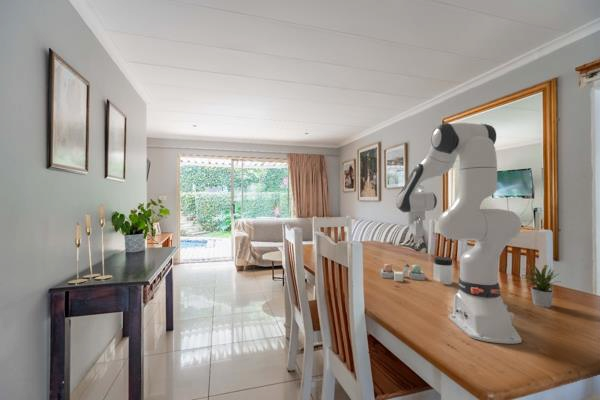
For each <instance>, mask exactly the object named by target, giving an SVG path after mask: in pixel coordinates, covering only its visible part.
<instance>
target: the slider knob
mask: <svg viewBox="0 0 600 400" xmlns="http://www.w3.org/2000/svg"><path fill="white" fill-rule="evenodd" d="M393 281H394V282H403V283H404V277H403V273H402V271H394V278H393Z"/></svg>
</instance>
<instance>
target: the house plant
mask: <svg viewBox="0 0 600 400" xmlns="http://www.w3.org/2000/svg"><path fill="white" fill-rule="evenodd" d="M525 265H526V266H527V267H529V268H530V269H531V271H530V270H528V269H526V267H525V268H524V267H523V270H525V271H526V272H528V273H529V274H530V275H529V274H526V273H525V275H524V274H521V276H522V277H524V278H525V280H524V281H523V283H525V282H526V285H527V284H530V283H532V284H533V285H534V286H530V291H531V297H532V302H533V304H534V305H535V306H537V307H542V308H551V306H552V303H553V298H554V293H555V290H554V289H551V288H555V286H552V285H553V284H555V283H560V281H554V282H551V281H552V280H553V278H555V277H556V276H558V275H559V274H560V273H561V272H560V273H557V274H555V273H554V272H555V269H552V267H550V268H549V269H548V267H549V265H547V264H545V265H544V266H543V268H542V269H541V272H540V270H539V269H538V268H537V266H536V265H535V266H534V268H533V267H532V266H531V265H529V264H526V263H525ZM519 268H520V269H521V268H522V267H519ZM547 269H548V272H547ZM546 272H547V275H546ZM534 276H535V277H534ZM526 279H527V280H526ZM529 279H530V280H529ZM550 282H551V283H550Z"/></svg>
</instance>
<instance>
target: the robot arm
mask: <svg viewBox="0 0 600 400" xmlns="http://www.w3.org/2000/svg"><path fill="white" fill-rule="evenodd" d="M430 140H431V142H430V143H431V146H430V148H429V150H428V153H427V154H426V157H425V158H424V159H423V160H422V161H421V162H420V163H419V164H416V165H415V166H414V168H413V170H412V171H411V173H410V175H409V177H408V178H407V181H406V182H405V184H404V185H403V187H402V189H401V191H400V192H399V193H398V194H397V197H396V199H395V205H396V207H397V209H399V210H400V211H401V212H402V213H406V220H407V222H408V230H409V232H410V233H411V234H412V236H413V237H412V238H413V243H414V244H419V240H420V238H423V237H424V223H423V221H425V220H426V212H429V211H433V210H434V209H436V206H437V205H438V204H437V203H438V199H437V195H436V194H435V193H433V192H432V191H429V190H426V188H425V186H424V185H421V183H422V182H424V181H427V180H429V179H432V178H435V177H439V176H443V175H445V174H447V173H448V172H449V171H450V170H451V169H452V168H453V166H454V165H455V162H456V160H457V157H459V166H458V167H459V168H458V169H459V171H458V172H459V178H458V191H457V195H456V197H455V199H454V200H453V203H452V204H451V205H450V207H448V208H447V209H446V210H445V211H443V212H442V213H441V214H440V216H439V218H438V221H437V228H438V230H439V232H440V234H441V235H442V236H443V237H444V238H445V239H448V240H454V241H461V242H463V241H468V242H469V241H472V242H473V241H475V244H474V245H473V247H472V248H471V249H468V250H467V251H465V252H463V253H462V255H461V256H460V258H459V277H458V281H457V282H458V284H457V285H458V291H457V292H456V293H455V294H454V297H453V311H452V312H453V313H450V314H449V315H448V319H449V320H450V321H451V322H452V323H454V324H455V325H456V326H457V327H458V328H459V329H460V330H461V331H463V332H464V333H465V334H466V335H467V336H469V337H470V338H471V339H475V340H479V341H483V342H489V343H496V344H507V345H508V344H520V343H522V337H521V336H520V334H519V332H518V331H517V330H516V328H515V327H514V325H513V324H512V321H514V320H515V314H514V313H513V312H510V311H508V305H507V304H505V302H504V300H503V298H502V297H501V295H502V294H501V287H500V283H499V281H498V278H499V276H498V274H499V261H500V258H501V255H502V253H503V250H504V249H505V247H507V245H508V244H509V243H510V242H511V241H513V240H514V239H515V238H517V237H518V236H519V235H520V233H521V230H522V221H521V218H520V216H519V215H518V214H516V212H514V211H512V210H507V209H500V208H481V206H482V203H483V202H484V200H485V199H487V198H489V197H491V196H493V195H494V194H495V193H496V191H497V190H498V160H497V152H496V148H495V143H496V141H497V131H496V129H495V128H494V126H492V125H490V124H486V123H473V122H472V123H469V122H455V123H442V124H438V125H436V127H435V129H433V131H432V133H431V138H430Z"/></svg>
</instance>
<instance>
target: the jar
mask: <svg viewBox="0 0 600 400" xmlns="http://www.w3.org/2000/svg"><path fill="white" fill-rule="evenodd" d="M433 260H434V262H433V280H434V281H438V282H439V283H442V284H443V285H448V286H449V285H452V284H454V262H453V259H452V258H451V257H447V256H436V257H434V259H433Z"/></svg>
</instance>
